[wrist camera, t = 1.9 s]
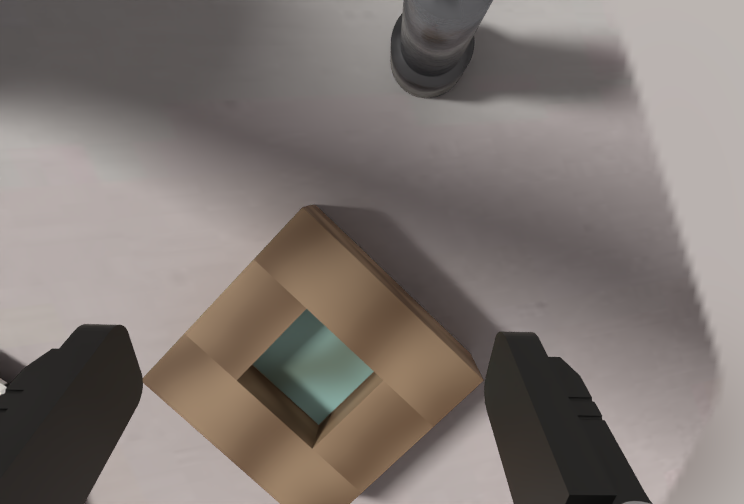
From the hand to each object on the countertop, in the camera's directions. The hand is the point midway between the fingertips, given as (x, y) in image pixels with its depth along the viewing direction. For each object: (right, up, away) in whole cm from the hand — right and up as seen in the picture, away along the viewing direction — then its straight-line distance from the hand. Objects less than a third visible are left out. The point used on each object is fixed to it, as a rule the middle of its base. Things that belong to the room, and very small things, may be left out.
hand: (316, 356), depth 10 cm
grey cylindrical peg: (+5, +14, +16) cm, 22 cm away
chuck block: (-2, -4, +19) cm, 20 cm away
